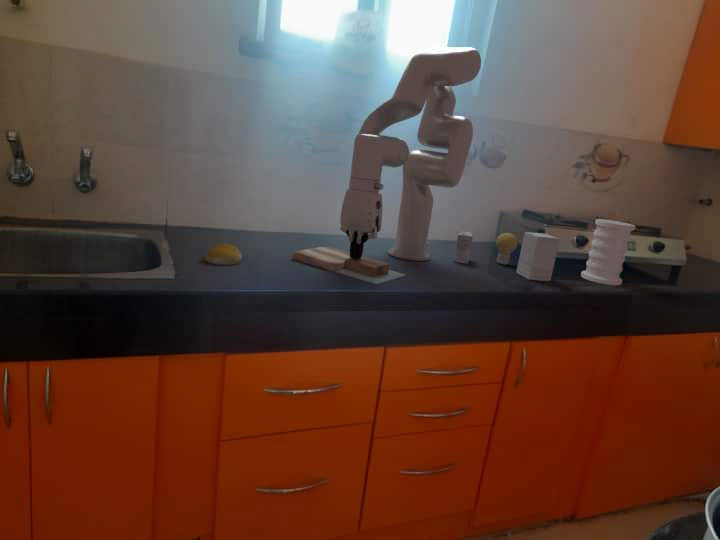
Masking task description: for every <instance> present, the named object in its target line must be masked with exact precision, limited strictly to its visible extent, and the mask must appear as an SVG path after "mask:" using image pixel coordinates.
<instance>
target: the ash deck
mask: <svg viewBox="0 0 720 540" xmlns="http://www.w3.org/2000/svg"><path fill="white" fill-rule="evenodd" d="M365 257H366V256H365ZM349 258H350V251H345V250H341V249H337V248H334V247H330V246H328V245H326V246H320V247H313V248H307V249H300V250H294V251H292V260H295V261H299V262H301V263H305V264H307V265H311V266H314V267H316V268H317V267H318V268H321V269H324V270H327V271H330V272H334V273H336V271H338V270H342V269H344V264H345V259H349ZM366 258H368V257H366Z"/></svg>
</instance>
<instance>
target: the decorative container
mask: <svg viewBox="0 0 720 540" xmlns="http://www.w3.org/2000/svg"><path fill="white" fill-rule="evenodd" d="M594 224H595V225H596V227H595V229H594V231H593V239H592V241H591V243H590V245H591V249H590V250H589V252H588V256H589V257H588V260H586V265H585V266H586V267H585V270H582V271H581V273H580V277H582V279H584V280H587V281H591V282H594V283H598V284H602V285H609V286H621V285H622V284H623V279H622V278H621V277H620V274H621V273H622V272H623V263H624V262H625V260H626V257H625V256H626V255H625V254H626V253H627V251H628V250H629V246H628V244H629V242H630V241H631V238H632V237H631V232H632V231H635V229H636V225H635V224H632V223H627V222H625V221H624V222H623V221H619V220H614V219H613V220H612V219H606V218H605V219H603V218H596V219H595V221H594Z"/></svg>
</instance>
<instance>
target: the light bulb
mask: <svg viewBox="0 0 720 540" xmlns="http://www.w3.org/2000/svg"><path fill="white" fill-rule="evenodd" d="M495 242H496V243H495V244H496V245H495V246H496V249H497V251H498V254H497V259H496V262H497V264H499V265H502V264H503V266H505V265H509V264H510V260H511V259H510V258H511V253H513V252H514V251H515V250H516V248H517V246H518V238H517V236H515V234H513V233H510V232H504V233H501V234H499V235H498V236H497V239H496V241H495Z"/></svg>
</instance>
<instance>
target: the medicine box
mask: <svg viewBox="0 0 720 540" xmlns="http://www.w3.org/2000/svg"><path fill="white" fill-rule="evenodd" d="M457 233H458V234H457V237H456V239H457V240H456V244H455V251H454V257H453V258H454V260H453V262H454V263H460V264H465V265H469V261H470V255H471V250H472V243H473V232H470V231H462V230H461V231H458V232H457Z"/></svg>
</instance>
